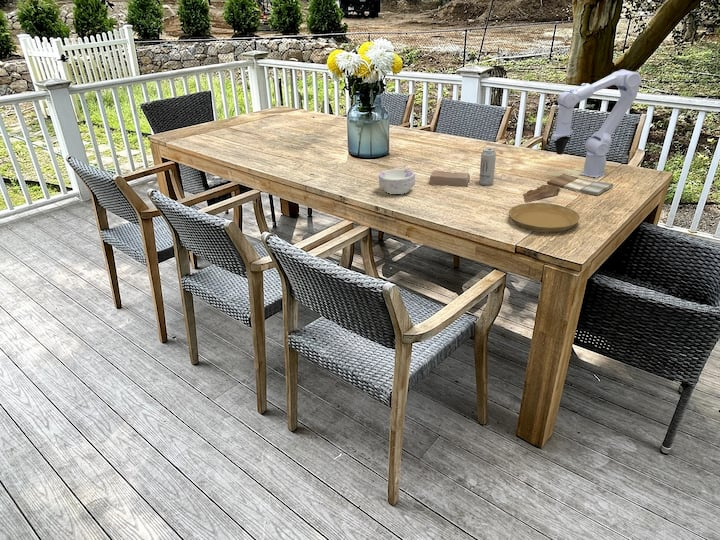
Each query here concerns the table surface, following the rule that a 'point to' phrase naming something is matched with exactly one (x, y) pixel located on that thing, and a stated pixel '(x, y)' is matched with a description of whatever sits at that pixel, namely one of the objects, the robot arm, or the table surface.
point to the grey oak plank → (596, 188)
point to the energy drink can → (487, 166)
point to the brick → (449, 178)
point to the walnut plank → (561, 180)
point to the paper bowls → (397, 180)
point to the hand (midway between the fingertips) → (559, 154)
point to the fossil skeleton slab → (541, 193)
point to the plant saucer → (544, 217)
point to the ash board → (578, 184)
